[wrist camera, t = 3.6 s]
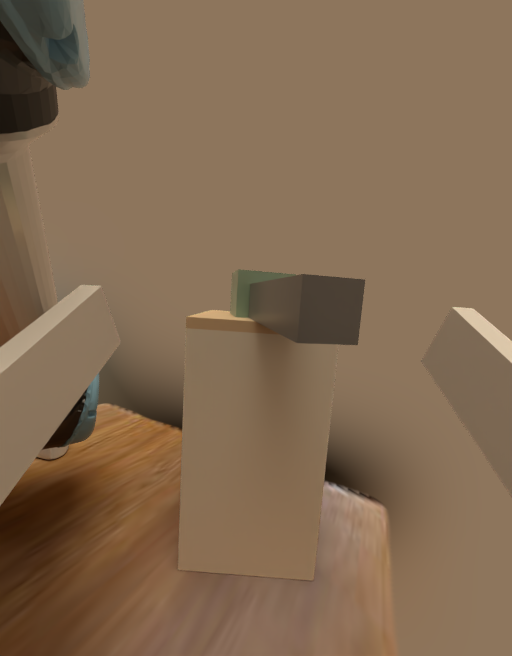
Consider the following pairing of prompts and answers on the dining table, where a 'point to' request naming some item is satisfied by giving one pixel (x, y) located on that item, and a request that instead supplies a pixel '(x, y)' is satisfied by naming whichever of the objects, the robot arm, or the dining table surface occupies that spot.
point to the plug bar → (300, 305)
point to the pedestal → (252, 448)
